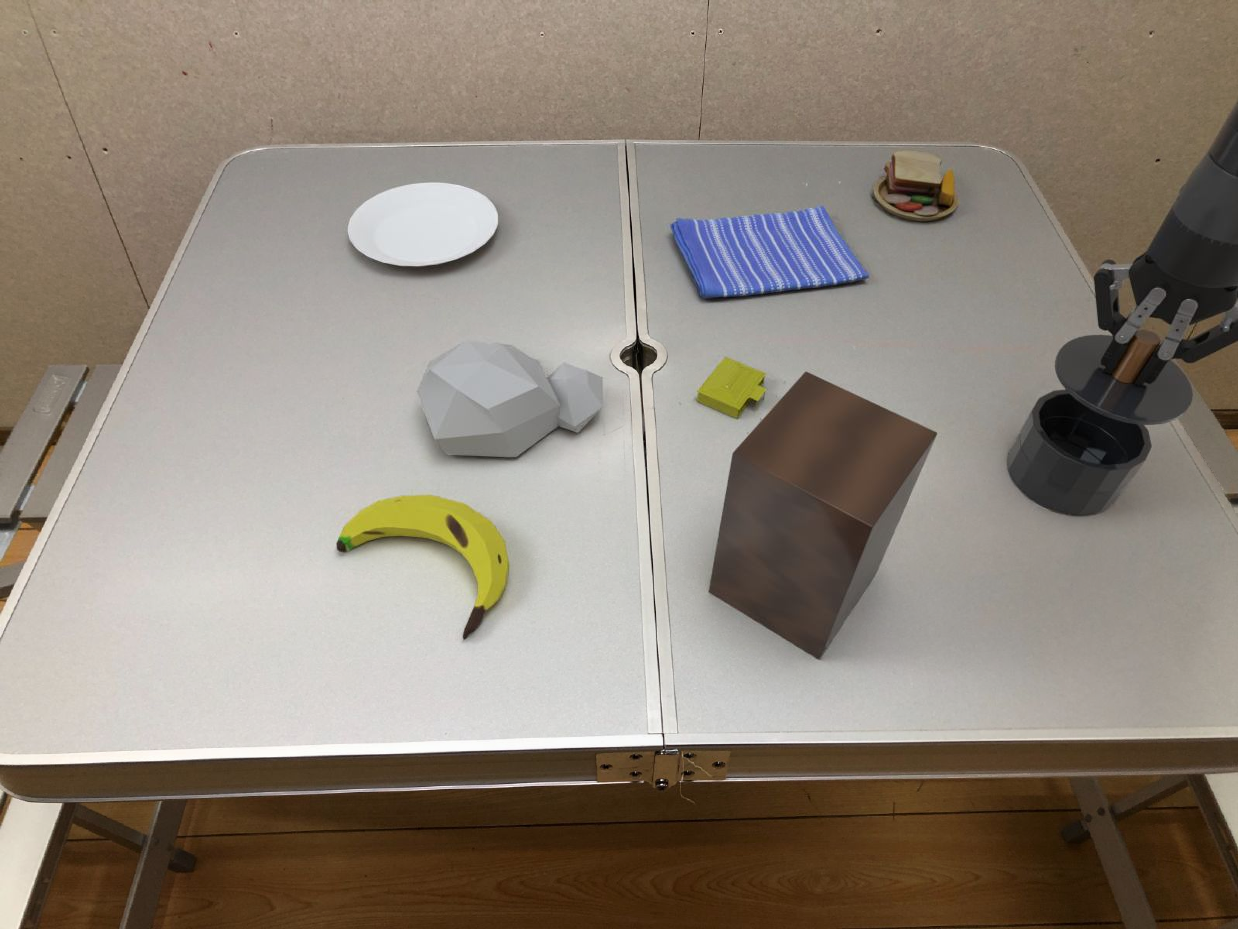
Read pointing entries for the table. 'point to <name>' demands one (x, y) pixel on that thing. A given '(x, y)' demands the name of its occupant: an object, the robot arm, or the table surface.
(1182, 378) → the lid
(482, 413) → the rock
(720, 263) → the dish towel
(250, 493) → the table surface
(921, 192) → the toy sandwich meal
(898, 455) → the brown rectangular block
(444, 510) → the banana
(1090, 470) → the pot
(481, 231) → the plate
